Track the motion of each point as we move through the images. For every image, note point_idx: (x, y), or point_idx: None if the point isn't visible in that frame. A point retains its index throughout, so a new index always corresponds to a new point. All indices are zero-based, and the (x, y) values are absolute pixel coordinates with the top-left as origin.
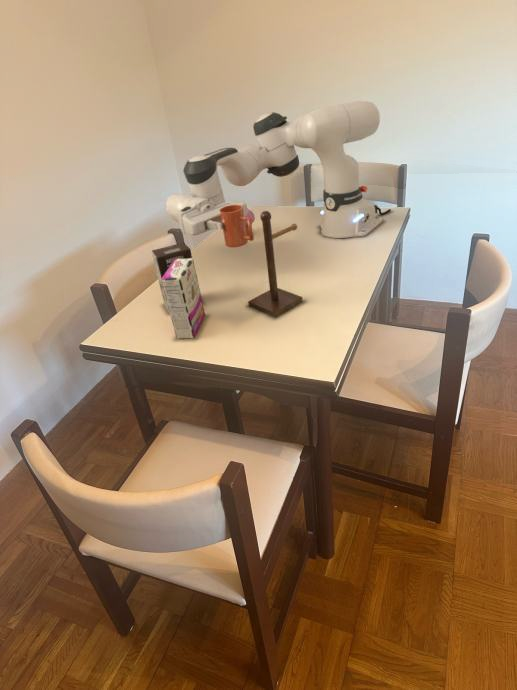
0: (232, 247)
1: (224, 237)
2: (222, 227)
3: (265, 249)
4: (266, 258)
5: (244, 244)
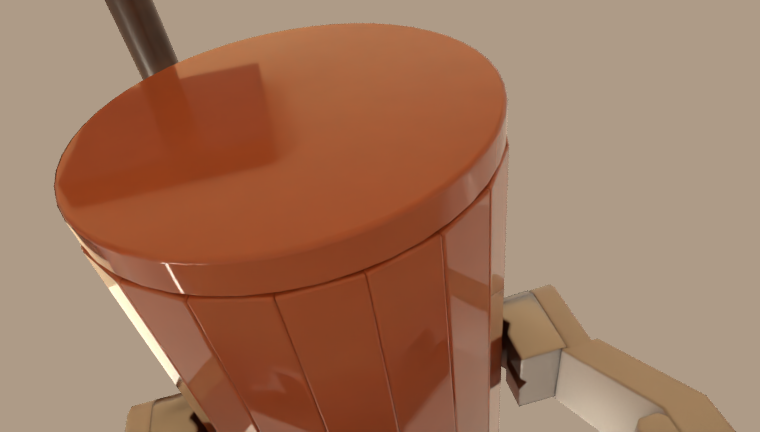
0: (103, 107)
1: (143, 337)
2: (169, 400)
3: (129, 50)
4: (106, 1)
5: (276, 39)
